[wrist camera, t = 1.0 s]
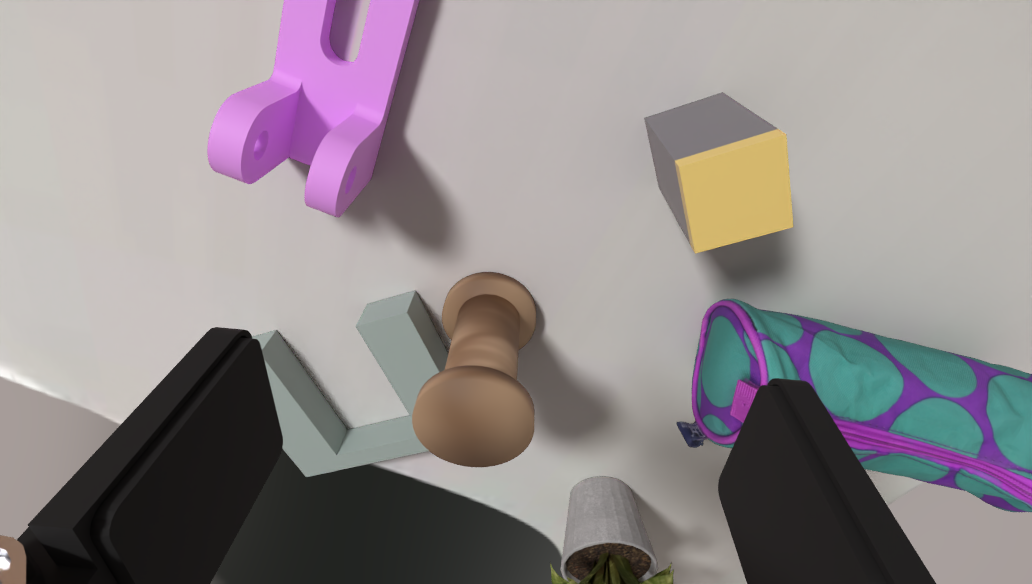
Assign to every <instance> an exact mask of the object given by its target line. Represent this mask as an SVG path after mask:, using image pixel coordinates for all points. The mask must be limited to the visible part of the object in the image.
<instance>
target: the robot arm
mask: <svg viewBox="0 0 1032 584" xmlns="http://www.w3.org/2000/svg"><path fill="white" fill-rule="evenodd" d="M282 447H283V436H282V432H281V427H280V423H279V419H278V415H277V411H276V407H275V403H274V398H273V394H272V390H271V386H270V382H269V378H268V373H267V369H266V365H265V361H264V357H263V353H262V349H261V345H260V342H259V341H258V340H257V339H253V338H252V336H251V334H250V333H249V332H248V331H247V330H240V329H229V328H218V327H215V328H212V329H210V330H209V331H208V332H207V333H206V334H205V335H204V336H203V337H202V338H201V339H200V340H199V341H198V342H197V344H196V345H195V346H194V347H193V348H192V349H191V350H190V351H189V352H188V353H187V354H186V355H185V356H184V358H183V359H182V360H181V361H180V362H179V363H178V364H177V365H176V366H175V367H174V368H173V369H172V370H171V371H170V373H169V374H168V375H167V376H166V377H165V378H164V379H163V380H162V381H161V382H160V383H159V384H158V385H157V387H156V388H155V389H154V390H153V391H152V392H151V393H150V394H149V395H148V396H147V397H146V398H145V399H144V400H143V402H142V403H141V404H140V405H139V406H138V407H137V408H136V409H135V410H134V411H133V412H132V413H131V414H130V416H129V417H128V418H127V419H126V420H125V421H124V422H123V423H122V424H121V425H120V426H119V427H118V428H117V430H116V431H115V432H114V433H113V434H112V435H111V436H110V437H109V438H108V439H107V440H106V441H105V442H104V443H103V445H102V446H101V447H100V448H99V449H98V450H97V451H96V452H95V453H94V454H93V455H92V457H90V458H89V460H88V461H87V462H86V463H85V464H84V465H83V466H82V467H81V468H80V469H79V470H78V471H77V473H76V474H75V475H74V476H73V477H72V478H71V479H70V480H69V481H68V482H67V483H66V484H65V485H64V486H63V487H62V489H61V490H60V491H59V492H58V493H57V494H56V495H55V496H54V497H53V498H52V499H51V500H50V502H49V503H48V504H47V505H46V506H45V507H44V508H43V509H42V510H41V511H40V512H39V513H38V514H37V515H36V517H35V518H34V519H33V520H32V521H31V522H30V523H29V524H28V526H29V527H28V528H27V529H26V531H25V532H24V533H23V534H22V535H21V536H20V537H19V538H18V539H17V540H16V539H14V538H13V537H8V536H2V535H0V584H210V583H211V581H212V579H213V577H214V575H215V574H216V572H217V570H218V568H219V566H220V565H221V563H222V561H223V559H224V557H225V555H226V554H227V552H228V550H229V548H230V546H231V544H232V543H233V541H234V539H235V537H236V535H237V533H238V532H239V530H240V528H241V526H242V524H243V522H244V521H245V519H246V517H247V515H248V513H249V512H250V509H251V508H252V506H253V504H254V502H255V501H256V499H257V497H258V495H259V493H260V491H261V490H262V488H263V486H264V484H265V482H266V480H267V479H268V477H269V475H270V473H271V471H272V470H273V468H274V466H275V464H276V462H277V460H278V459H279V456H280V454H281V451H282ZM718 491H719V497H720V501H721V504H722V507H723V510H724V513H725V516H726V519H727V522H728V525H729V528H730V532H731V535H732V538H733V541H734V544H735V547H736V550H737V553H738V556H739V559H740V563H741V566H742V569H743V572H744V575H745V578H746V581H747V584H936V583H935V581H934V579H933V578H932V577H931V575H930V573H929V571H928V570H927V568H926V567H925V565H924V564H923V562H922V561H921V559H920V557H919V556H918V554H917V553H916V551H915V549H914V548H913V546H912V544H911V543H910V541H909V540H908V538H907V537H906V535H905V533H904V532H903V530H902V529H901V527H900V526H899V524H898V522H897V521H896V520H895V518H894V516H893V514H892V513H891V511H890V509H889V508H888V506H887V505H886V503H885V501H884V500H883V498H882V497H881V495H880V493H879V492H878V490H877V489H876V487H875V486H874V484H873V482H872V481H871V479H870V478H869V476H868V474H867V473H866V471H865V470H864V468H863V466H862V465H861V463H860V462H859V460H858V458H857V457H856V455H855V454H854V452H853V451H852V449H851V447H850V446H849V444H848V443H847V441H846V439H845V438H844V436H843V435H842V433H841V431H840V430H839V428H838V427H837V425H836V423H835V422H834V420H833V419H832V417H831V415H830V414H829V412H828V411H827V409H826V408H825V406H824V404H823V403H822V401H821V400H820V398H819V396H818V395H817V393H816V392H815V390H814V388H813V387H812V386H811V385H810V383H808V382H806V381H802V380H791V379H780V378H774V379H771V380H770V381H769V383H768V384H767V385H762V386H760V387H759V389H758V390H757V393H756V395H755V397H754V400H753V402H752V404H751V406H750V409H749V411H748V413H747V416H746V418H745V420H744V423H743V425H742V427H741V429H740V432H739V434H738V436H737V439H736V441H735V443H734V446H733V448H732V450H731V452H730V455H729V457H728V459H727V462H726V464H725V466H724V469H723V471H722V473H721V475H720V478H719V483H718Z"/></svg>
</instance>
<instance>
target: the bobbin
mask: <svg viewBox="0 0 1032 584" xmlns="http://www.w3.org/2000/svg"><path fill="white" fill-rule="evenodd" d="M442 323H443V327H444V329H445V332H446V333H447V335H448V337H449V338H450V339H451V345H450V349H449V354H448V358H447V362H446V366H445V370H443V371H441V372H439V373H437V374H435V375H434V376H432V377H431V378H430V379H429V380H427V381H426V383H425V384H424V385H423V386H422V388H421V389H420V391H419V394H418V396H417V400H416V403H415V406H414V410H413V414H412V424H413V429H414V432H415V434H416V436H417V438H418V439H419V441H420V442H421V443H422V445H423V446H424V447H425V448H426V449H428V450H429V451H430V452H431V453H433V454H434V455H436V456H437V457H439V458H441V459H443V460H445V461H448V462H450V463H454V464H457V465H462V466H468V467H489V466H495V465H499V464H502V463H505V462H508V461H510V460H512V459H514V458H515V457H517V456H518V455H520V454H521V453H522V452H523V451H524V450H525V449H526V448H527V447H528V445H529V444H530V442H531V440H532V437H533V433H534V404H533V401H532V398H531V397H530V395H529V393H528V392H527V390H526V389H525V388H524V387H523V386H522V385H521V384H520V383H519V382H518V381H517V366H518V350H520V349H521V348H522V347H524V346H525V345H526V344H527V343H528V341H529V340H530V339H531V337H532V335H533V333H534V330H535V326H536V307H535V303H534V300H533V298H532V296H531V294H530V293H529V291H528V290H527V289H526V288H525V287H524V286H523V285H522V284H521V283H520V282H518V281H517V280H515V279H513V278H511V277H509V276H507V275H504V274H500V273H494V272H482V273H476V274H472V275H469V276H467V277H465V278H463V279H461V280H460V281H458V282H457V283H456V284H455V285H454V286H453V287H452V288H451V289H450V291H449V293H448V295H447V297H446V300H445V303H444V307H443V311H442Z"/></svg>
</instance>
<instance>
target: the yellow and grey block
mask: <svg viewBox="0 0 1032 584" xmlns="http://www.w3.org/2000/svg"><path fill="white" fill-rule="evenodd" d="M644 119H645V124H646V129H647V133H648V138H649V143H650V147H651V152H652V157H653V162H654V166H655V171H656V176H657V181H658V185H659V189H660V190H661V192H662V194H663V196H664V198H665V199H666V201H667V203H668V205H669V207H670V209H671V210H672V212H673V214H674V216H675V218H676V220H677V221H678V223H679V225H680V227H681V229H682V231H683V232H684V234H685V236H686V238H687V240H688V242H689V243H690V245H691V247H692V249H693V251H694V252H695V253H699V252H703V251H706V250H710V249H714V248H718V247H721V246H725V245H729V244H733V243H736V242H740V241H744V240H747V239H751V238H755V237H759V236H762V235H766V234H770V233H774V232H777V231H781V230H785V229H788V228H792V227H793V217H792V204H791V190H790V177H789V164H788V151H787V138H786V134H785V133H783V132H782V131H780V130H779V129H777V128H776V127H774V126H773V125H771V124H770V123H768V122H767V121H765V120H764V119H762V118H761V117H759V116H758V115H756V114H755V113H753V112H752V111H750V110H749V109H747V108H746V107H744V106H743V105H741V104H740V103H738V102H737V101H735V100H734V99H732V98H731V97H729V96H728V95H726V94H725V93H723V92H722V93H719V94H716V95H713V96H710V97H707V98H704V99H701V100H698V101H695V102H692V103H689V104H686V105H683V106H680V107H676V108H673V109H670V110H667V111H664V112H661V113H658V114H655V115H652V116H649V117H646V118H644Z"/></svg>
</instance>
